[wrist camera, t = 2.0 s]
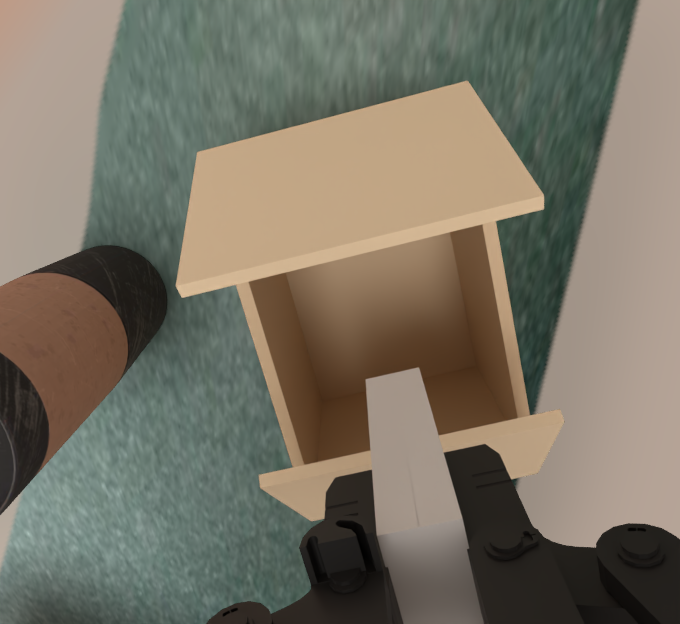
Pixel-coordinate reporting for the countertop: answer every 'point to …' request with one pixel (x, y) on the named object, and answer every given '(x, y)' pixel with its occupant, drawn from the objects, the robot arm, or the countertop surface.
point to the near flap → (349, 188)
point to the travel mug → (68, 350)
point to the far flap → (504, 437)
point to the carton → (387, 339)
